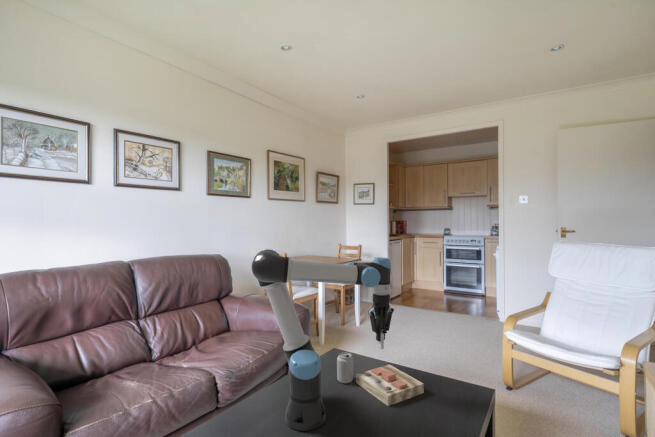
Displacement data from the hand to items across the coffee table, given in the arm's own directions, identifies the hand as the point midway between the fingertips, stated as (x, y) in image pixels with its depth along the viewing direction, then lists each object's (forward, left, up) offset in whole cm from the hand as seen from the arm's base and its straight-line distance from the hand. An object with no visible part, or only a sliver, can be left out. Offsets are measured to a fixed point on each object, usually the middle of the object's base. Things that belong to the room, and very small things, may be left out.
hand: (380, 347), depth 141 cm
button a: (+6, -6, -18) cm, 19 cm away
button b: (+6, +1, -16) cm, 17 cm away
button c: (+6, +8, -18) cm, 20 cm away
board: (+6, +1, -19) cm, 20 cm away
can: (-7, +17, -19) cm, 27 cm away
